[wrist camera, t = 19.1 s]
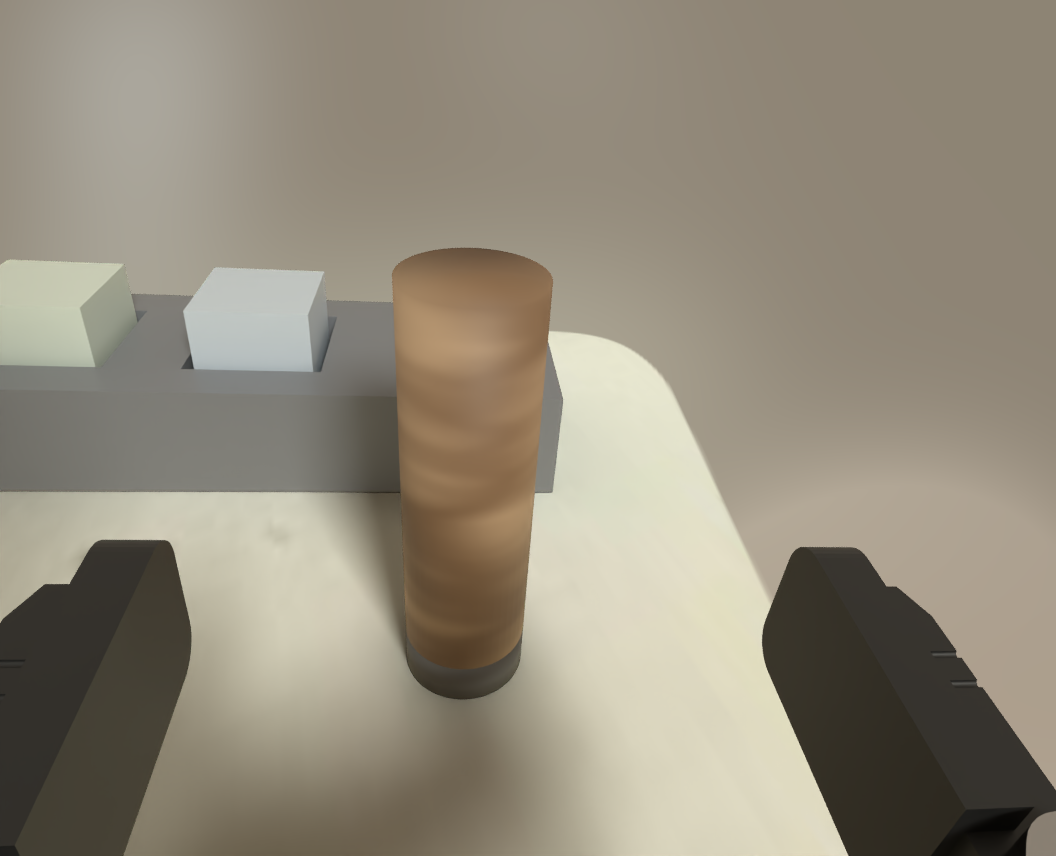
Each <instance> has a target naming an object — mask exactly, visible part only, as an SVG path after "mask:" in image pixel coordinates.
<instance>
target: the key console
mask: <svg viewBox="0 0 1056 856" xmlns="http://www.w3.org/2000/svg"><path fill="white" fill-rule="evenodd" d="M131 295H132V300H133V304H134V309H135V313H136V317H137V322H138V323H137V324H136V325H135V326H134V328H133V329H132V330H131V331H130V332H129V334H128V335H127V336H126V337H125V339H124V340H123V341H122V342H121V343H120V345H119V346H118V347H117V348H116V349H115V351H114V352H113V353H112V354H111V355H110V357H109V358H108V359H107V360H106V361H105V363H104V364H103V365H102V366H101V367H64V366H18V365H0V491H219V492H401V490H400V464H399V439H398V413H397V387H396V362H395V336H394V311H393V303H391V302H360V301H331V300H326V302H327V315H328V328H329V342H330V343H329V346H328V349H327V353H326V356H325V359H324V363H323V366H322V370H321V372H295V371H249V370H203V369H194V366H193V361H192V356H191V350H190V345H189V340H188V334H187V329H186V324H185V318H184V313H183V310H184V309H185V308H186V306H187V305H188V304H189V302H190V301H191V299H192V298H193V297H194V296H180V295H179V296H177V295H147V294H131ZM562 406H563V397H562V393H561V389H560V385H559V382H558V378H557V374H556V370H555V366H554V363H553V359H552V355H551V351H550V347H549V344H547V356H546V367H545V379H544V390H543V402H542V413H541V425H540V436H539V448H538V459H537V471H536V482H535V492H552V491H553V483H554V474H555V466H556V457H557V449H558V440H559V432H560V423H561V415H562Z"/></svg>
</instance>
